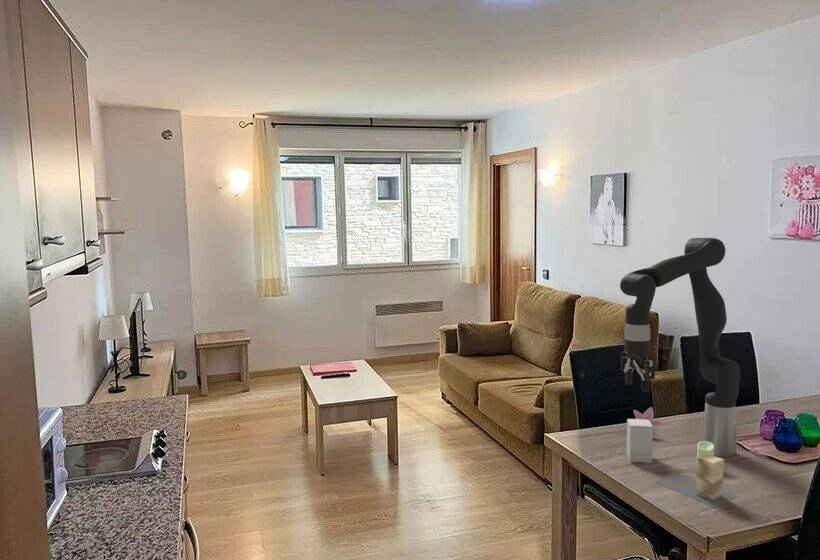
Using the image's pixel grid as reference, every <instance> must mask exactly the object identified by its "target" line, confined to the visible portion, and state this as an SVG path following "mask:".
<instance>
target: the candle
mask: <svg viewBox="0 0 820 560" xmlns="http://www.w3.org/2000/svg"><path fill="white" fill-rule="evenodd" d="M696 447H697V449H696V459H697V458H698V457H701V456H703V455H706V454H710V455H712V456H714V448H715V447H714V445H713V444H712V443H711V442H708V441H704V440H700V441H699V442H698V443H697V446H696Z"/></svg>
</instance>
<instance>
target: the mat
mask: <svg viewBox="0 0 820 560" xmlns="http://www.w3.org/2000/svg"><path fill="white" fill-rule="evenodd" d="M653 483H655V484H656V485H659V486H662V487H664V488H666V489H669V490H671V491H673V492H676V493H679V494H681V495H683V496H686V497H688V498H690V499H692V500H695V501H697V502H700V503H702V504H705V505H707V506H710V507H712V508H714V509H715V508H717V507H720V506H721V505H724V504H725V503H728V502H730V501H732V500H735V499H737V498H738V497H737V496H734V495H732V494H730V493H727V492H724V491H723V497H721V498H718V499H716V500H714V501H711V500H708V499H706V498H703V497H701V496H698V495H696V488H697V480H694V479H692V478H688V477H687V476H684V475H681V474H679V473H677V472H674V473H672V474H669V475H666V476H664V477H662V478H658V479H656V480H653Z"/></svg>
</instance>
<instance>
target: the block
mask: <svg viewBox="0 0 820 560" xmlns="http://www.w3.org/2000/svg"><path fill="white" fill-rule="evenodd" d="M724 462H725V460H724V458H722V457H719V456H712V455H710V454H706V455H703V456H701V457H698V458H697V457H696V466H697V467H696V481H697V488H696V495H698V496H701V497H703V498H706V499H708V500H711V501H714V500H716V499H718V498H721V497H723V492H724V467H725V465H724V464H725V463H724Z"/></svg>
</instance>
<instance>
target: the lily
mask: <svg viewBox="0 0 820 560" xmlns="http://www.w3.org/2000/svg"><path fill="white" fill-rule="evenodd" d="M633 414H634V416H635V417H634V418H635V419H646V420H649V421H650V423H651V424H652V426H653V438H654V439H655V440H660V437H659V433H658V430H657V427H658V428H659V427H660V426H661V425H662V424H663V422H661V421H659V420H656V419H654V409H653V407H651V406H650V407H649V408H647V409H646V410H645V411H644V412H643V413H641V412H639V411H638V410H636V409H633Z"/></svg>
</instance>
